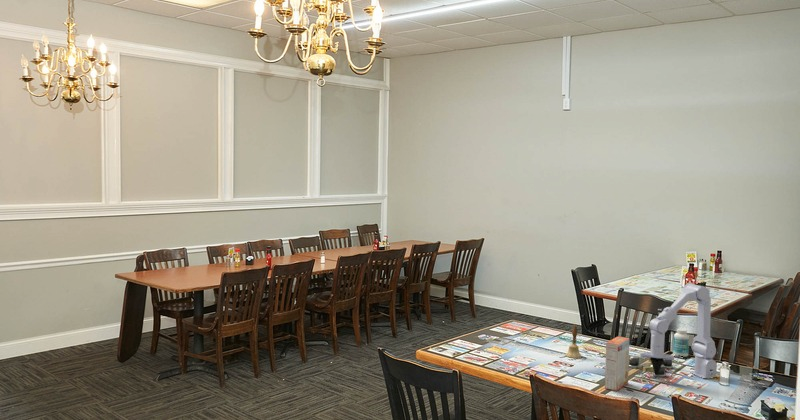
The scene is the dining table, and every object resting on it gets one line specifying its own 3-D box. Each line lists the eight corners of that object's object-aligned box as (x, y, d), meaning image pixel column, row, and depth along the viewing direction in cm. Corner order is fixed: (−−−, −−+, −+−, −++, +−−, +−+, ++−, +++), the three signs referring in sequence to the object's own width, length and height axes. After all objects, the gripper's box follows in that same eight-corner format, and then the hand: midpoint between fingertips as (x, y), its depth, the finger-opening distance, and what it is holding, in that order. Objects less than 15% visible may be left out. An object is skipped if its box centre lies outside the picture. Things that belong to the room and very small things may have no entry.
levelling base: (690, 375, 302) (690, 370, 302) (651, 378, 297) (651, 373, 296) (662, 362, 321) (662, 358, 321) (625, 365, 316) (625, 360, 316)
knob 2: (671, 363, 316) (671, 356, 315) (673, 366, 311) (673, 358, 311) (647, 361, 318) (648, 354, 317) (649, 364, 313) (650, 357, 313)
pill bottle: (672, 355, 334) (673, 330, 333) (673, 352, 340) (674, 327, 339) (687, 358, 330) (689, 332, 329) (688, 354, 337) (690, 329, 336)
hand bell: (580, 354, 334) (581, 323, 332) (583, 358, 325) (584, 327, 324) (564, 353, 334) (565, 323, 333) (566, 358, 326) (567, 327, 325)
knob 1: (639, 363, 315) (639, 355, 315) (638, 366, 311) (638, 358, 310) (616, 360, 319) (616, 352, 319) (615, 362, 315) (615, 355, 315)
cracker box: (615, 380, 293) (617, 335, 291) (628, 383, 289) (630, 338, 287) (603, 388, 282) (605, 341, 280) (617, 391, 278) (619, 344, 277)
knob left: (660, 370, 304) (660, 363, 303) (666, 374, 299) (667, 366, 299) (640, 372, 301) (641, 364, 301) (647, 375, 296) (647, 367, 296)
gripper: (672, 344, 296) (671, 372, 297) (639, 341, 299) (638, 370, 300) (675, 348, 289) (674, 377, 290) (641, 345, 292) (640, 374, 293)
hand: (656, 374), depth 295 cm, fingers closed
